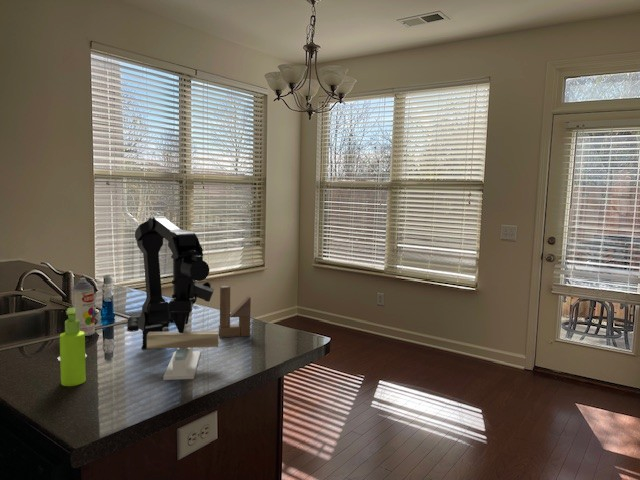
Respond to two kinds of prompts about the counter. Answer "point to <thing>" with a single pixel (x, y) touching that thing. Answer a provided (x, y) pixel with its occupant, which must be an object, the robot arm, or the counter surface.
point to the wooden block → (233, 315)
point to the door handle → (134, 325)
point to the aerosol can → (84, 306)
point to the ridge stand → (182, 364)
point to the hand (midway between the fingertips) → (183, 328)
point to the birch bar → (183, 339)
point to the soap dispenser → (72, 352)
